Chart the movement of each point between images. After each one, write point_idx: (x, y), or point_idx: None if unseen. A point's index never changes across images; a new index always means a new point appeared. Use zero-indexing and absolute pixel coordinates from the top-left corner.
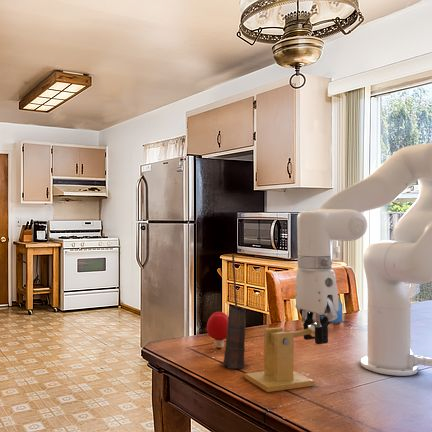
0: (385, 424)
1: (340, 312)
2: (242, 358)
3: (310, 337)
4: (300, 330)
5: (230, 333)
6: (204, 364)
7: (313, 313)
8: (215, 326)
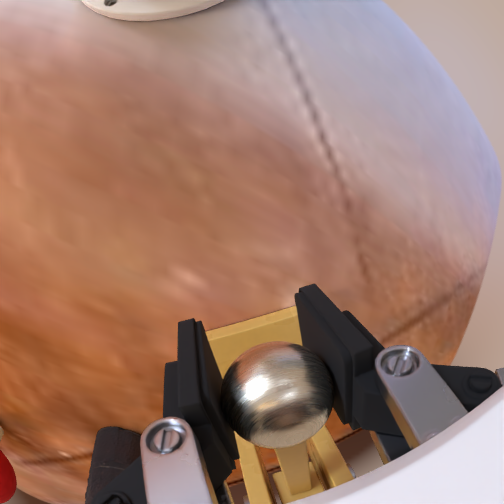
0: (488, 235)
1: None
2: (139, 454)
3: (215, 363)
4: (284, 461)
5: None
6: None
7: (215, 496)
8: (14, 492)
